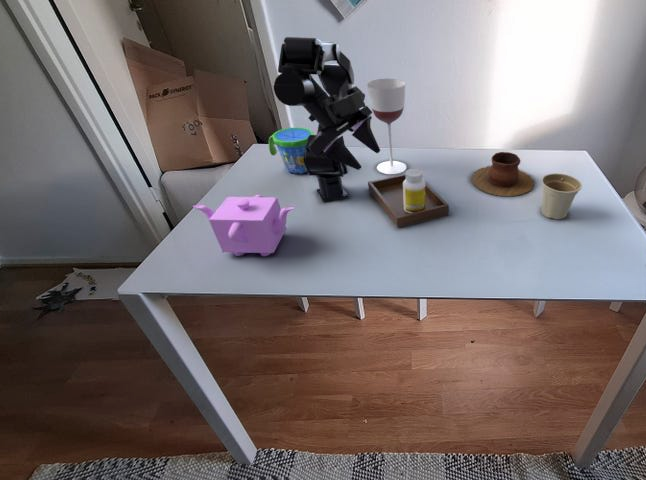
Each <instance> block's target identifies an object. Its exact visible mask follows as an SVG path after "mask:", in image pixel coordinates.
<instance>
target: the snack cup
mask: <svg viewBox="0 0 646 480" xmlns="http://www.w3.org/2000/svg"><path fill="white" fill-rule="evenodd" d="M309 135H314V132H313V130H311V129H308V128H305V127H299V126H298V127H287V128H282V129H280V130H277V131H275V132H273V134H272V135H271V136H269V138H268V150H269V153H270V155H271V156H276V155H277V152H278V154H279V155H280V157H281V160H282V162H283V165H284V167H285V169H286V170H287V172H288V173H292V174H301V175H303V174H304V173H308V172H307V169H306V167H305V164H304V160H303V155H304V152H305V151H306V149H305V148H306V145H307V139H308V137H309ZM275 145H276V146H275ZM276 147H277V148H276ZM277 150H278V151H277Z"/></svg>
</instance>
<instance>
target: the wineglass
mask: <svg viewBox="0 0 646 480" xmlns="http://www.w3.org/2000/svg"><path fill="white" fill-rule="evenodd" d="M367 91H368V97H369V103H370V106H371V109H372V110H371V111H372V114H373V115H374V116H375V118H376V119H378V120H379V121H380V122H383V123H385V124H387V138H388V153H389V154H388V155H389V160H388V161H383V162H381V163H379V164H378V165H377V166H376V170H377V171H378V172H379V173H381V174H385V175H397V174H402V173H403V172H406V171H407V164H406V163H404V162H402V161H398V160H394V157H393V141H392V125H391V124H392V123H394V122H396V121H397V120H398V119H399V118H400V117H401V116H402V115H403V112H404V108H405V103H406V102H405V101H406V100H405V99H406V83H405V81H403V80H401V79H396V78H379V79H378V78H377V79H374V80H370V81H369V82H368V83H367Z"/></svg>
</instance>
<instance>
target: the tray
mask: <svg viewBox="0 0 646 480" xmlns="http://www.w3.org/2000/svg"><path fill="white" fill-rule="evenodd" d="M405 179H406V176H405V173H403V174H398V175H393V176H389V177H384V178H379V179H375V180H370V181H367V186H368V187H367V188H368V191H369V193H370V194H371V195H372V197H373V198H374V200H375V201H376V202H377V203H378V205H379V206H380V207H381V208H382V209H383V210H384V212H385V213H386V215H387V216H388V217H389V218H390V220H391V221H392V223H393V224H394V225H395V226H396V228H397V229H399V228H402V227H406V226H410V225H414V224H418V223H421V222H425V221H429V220H432V219H436V218H440V217H444V216H446V215H449V214H450V213H449V212H450V205H449V204H448V203H447V202H446V201H445V200H444V199H443V198H442V197H441V196H440V195H439V194H438V193H437V192H436V191H435V190H434V188H432V187H431V186H430V185H429V184H428V183H427V182H426V181H425V184H426V208H425V210H421V211H417V212H413V213H407V212H406V211H405V210H404V201H403V182H404V180H405Z"/></svg>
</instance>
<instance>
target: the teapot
mask: <svg viewBox="0 0 646 480" xmlns="http://www.w3.org/2000/svg"><path fill="white" fill-rule="evenodd" d="M192 207H193V208H194V209H196V210H199V211H201V212H202V213H204V215H205V216H206V217H207V219H208V222H209V224H210V226H211V229H212V231H213V233H214V235H215V238H216V240H217V243H218V244H219V247H220V250H221V252H222V253H234V255H235V256H239V257H240V256H244V255H245V254H248V253H249V254H250V253H251V254H252V253H253V254H260V256H262V257H267V256H269V255H271V254H274V253H275V252H276V250H277V247H278V245H279V243H281V240H282V238H283V236H284V234H285V233H286V230H287V217H288V213H289V212H290V211H292V210H294V209H295V208H296V207H294V206H285V207H283V208H282V209H281V206H280V202H279V198H278V197H263V195H262V194H255V195H254V196H227V197H226V198H225V199H224V201H223V202H222V203H221V204H220V206H218V208H217V209H216V210H215V211H214V210H212V209H211V208H210V207H208V206H207V205H203V204H194V205H192Z"/></svg>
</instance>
